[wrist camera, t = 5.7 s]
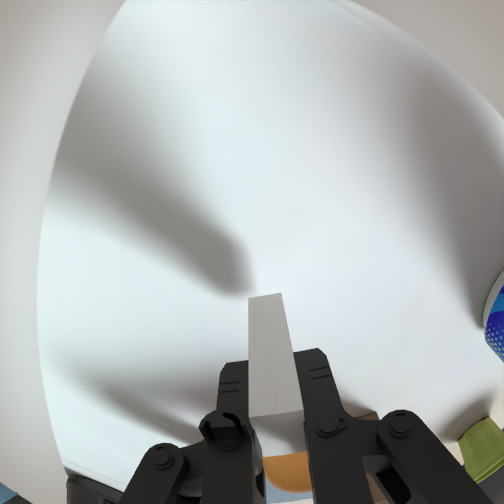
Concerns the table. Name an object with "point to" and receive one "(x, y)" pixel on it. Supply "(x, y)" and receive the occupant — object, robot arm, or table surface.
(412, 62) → the table surface
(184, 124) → the table surface
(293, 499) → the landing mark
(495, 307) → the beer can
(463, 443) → the plant pot
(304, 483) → the ball
